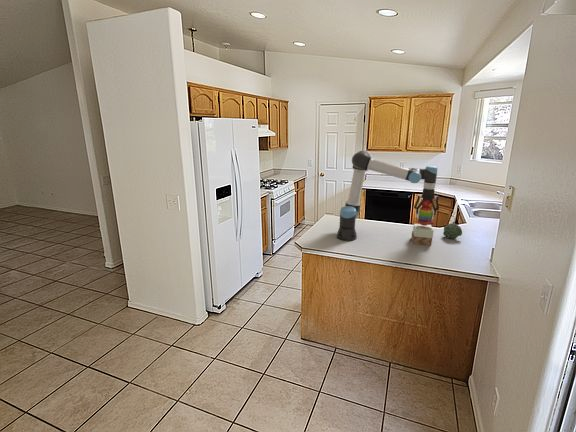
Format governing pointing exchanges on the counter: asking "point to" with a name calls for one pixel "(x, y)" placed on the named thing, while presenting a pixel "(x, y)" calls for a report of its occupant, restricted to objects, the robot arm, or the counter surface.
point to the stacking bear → (425, 213)
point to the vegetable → (452, 231)
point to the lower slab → (421, 240)
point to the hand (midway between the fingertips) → (424, 218)
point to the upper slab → (423, 231)
